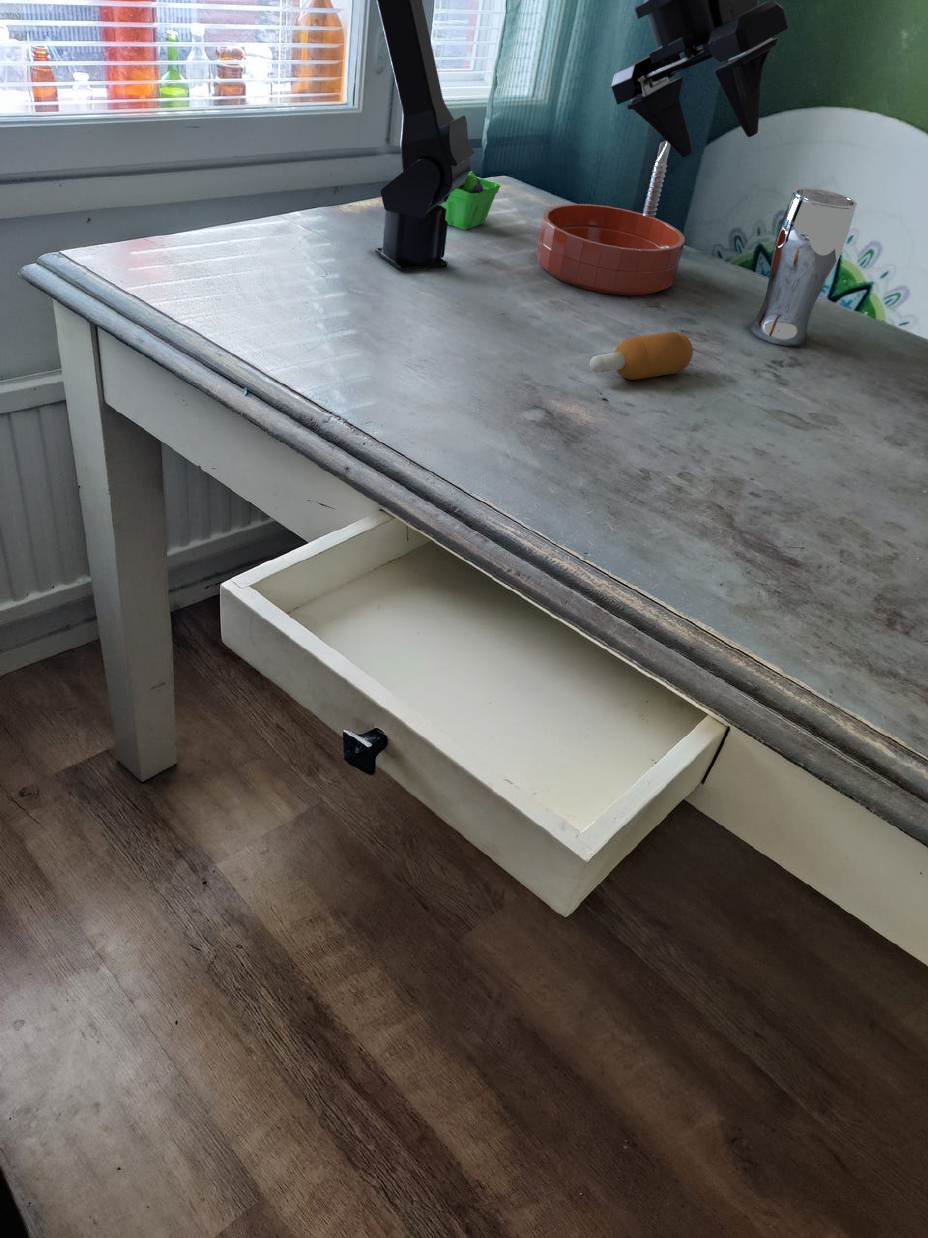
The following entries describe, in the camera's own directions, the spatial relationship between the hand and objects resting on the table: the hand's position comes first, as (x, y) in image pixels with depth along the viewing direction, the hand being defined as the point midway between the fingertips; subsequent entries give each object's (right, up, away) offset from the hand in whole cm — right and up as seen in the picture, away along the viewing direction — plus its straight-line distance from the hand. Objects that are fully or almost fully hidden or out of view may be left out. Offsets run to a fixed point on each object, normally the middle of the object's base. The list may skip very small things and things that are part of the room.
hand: (719, 145), depth 96 cm
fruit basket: (-28, +6, +31) cm, 43 cm away
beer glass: (+10, -15, +13) cm, 22 cm away
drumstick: (-9, -24, -2) cm, 25 cm away
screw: (-2, +3, +34) cm, 34 cm away
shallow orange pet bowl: (-8, -4, +22) cm, 24 cm away
